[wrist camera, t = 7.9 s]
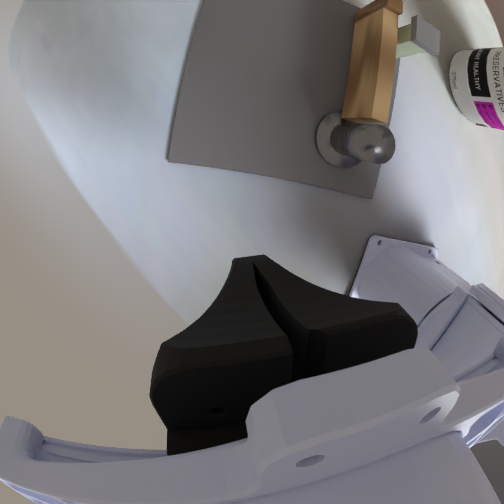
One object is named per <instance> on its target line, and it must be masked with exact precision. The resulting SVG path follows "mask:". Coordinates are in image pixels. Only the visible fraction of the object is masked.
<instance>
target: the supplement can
mask: <svg viewBox="0 0 504 504" xmlns="http://www.w3.org/2000/svg"><path fill="white" fill-rule="evenodd" d="M449 81H450V87H451V91H452V95H453V97H454V99H455V102H456V104H457V106H458V107H459V109H460V110H461V112H462V113H463V114H464V116H465V117H466V118H467V120H469V121H470V122H472V123H473V124H474V125H479V126H485V127H491V128H496V129H501V130H504V47H499V48H482V49H470V50H462V51H459V52H456V54H455V55H454V57H453V58H452V61H451V64H450V70H449Z"/></svg>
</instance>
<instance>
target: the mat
mask: <svg viewBox="0 0 504 504" xmlns="http://www.w3.org/2000/svg"><path fill="white" fill-rule="evenodd" d="M358 10H360V8H357V7H355V6H353V5H350V4H348V3H346V2H343V1H341V0H204V1H203V5H202V8H201V11H200V14H199V18H198V21H197V24H196V28H195V32H194V35H193V39H192V43H191V46H190V50H189V54H188V58H187V63H186V67H185V71H184V76H183V80H182V85H181V89H180V94H179V99H178V104H177V110H176V115H175V120H174V126H173V132H172V138H171V145H170V151H169V158H168V162H172V163H181V164H189V165H197V166H205V167H212V168H220V169H226V170H233V171H239V172H245V173H252V174H257V175H263V176H269V177H274V178H280V179H285V180H290V181H295V182H300V183H305V184H310V185H314V186H319V187H323V188H328V189H332V190H337V191H341V192H345V193H349V194H353V195H357V196H361V197H365V198H369V199H372V197H373V193H374V189H375V186H376V182H377V178H378V174H379V170H380V166H381V164H376V163H372V162H368V161H365V160H362V161H361V162H360V163H359V164H357V165H356V166H353V167H350V168H339V167H336V166H333V165H331V164H329V163H327V162H326V161H325V160H324V159H323V158H322V157H321V156H320V154H319V152H318V150H317V148H316V144H315V131H316V127H317V125H318V123H319V121H320V120H321V119H322V118H323V117H324V116H325V115H326V114H328V113H330V112H333V111H339V110H343V105H344V98H345V92H346V86H347V79H348V72H349V65H350V58H351V50H352V42H353V34H354V24H353V23H354V13H355V12H357V11H358ZM399 63H400V58H396V60H395V70H394V79H393V87H392V95H391V102H390V108H389V115H388V121H387V124H386V123H365V124H378V125H383V126H385V127H387V128H388V129H389V125H390V120H391V115H392V109H393V104H394V98H395V92H396V85H397V78H398V71H399Z"/></svg>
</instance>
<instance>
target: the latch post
mask: <svg viewBox="0 0 504 504" xmlns="http://www.w3.org/2000/svg"><path fill="white" fill-rule="evenodd" d="M423 52H428V53H430V54H431V55H433V56H439V55H440V31H439V30H438V29H437V28H435V27H434V26H432V25H431V24H430V23H428V22H427V21H425V20H424V19H422V18H421V17H419V16H418V15H416V16H414V17H412V24H409V25H406V26H403V27H400V28H398V33H397V48H396V58H400V57H405V56H409V55H413V54H418V53H423Z"/></svg>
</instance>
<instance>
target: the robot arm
mask: <svg viewBox="0 0 504 504" xmlns="http://www.w3.org/2000/svg"><path fill="white" fill-rule="evenodd" d="M379 240H380V242H379V243H378V244H377V242H378V241H379ZM437 255H438V249H437V248H435V247H431V246H427V245H422V244H417V243H412V242H407V241H402V240H397V239H392V238H387V237H382V236H377V235H373V236H371V237H370V239H369V241H368V244H367V247H366V250H365V253H364V256H363V259H362V262H361V265H360V267H359V270H358V273H357V276H356V278H355V281H354V284H353V286H352V289H351V292H350V294H349V296H346V295H342V294H339V293H336V292H332V291H329V290H326V289H324V288H321V287H319V286H316V285H314V284H312V283H309V282H307V281H305V280H303V279H302V278H300V277H298V276H296V275H294V274H293V273H291V272H289V271H288V270H286V269H285V268H283V267H282V266H280V265H279V264H277V263H276V262H274V261H273V260H271V259H270V258H269V257H267V256H266V255H257V256H249V257H241V258H234V259H233V261H232V266H231V270H230V273H229V275H228V278H227V280H226V282H225V284H224V286H223V288H222V290H221V291H220V293H219V295H218V296H217V298H216V299H215V301H214V302H213V303H212V305H211V306H210V307H209V308H208V309H207V310H206V312H205V313H204V314H203V315H202V316H201V317H200V318H199V319H197V320H196V321H195V322H194V323H193V324H191V325H190V326H189V327H187V328H186V329H185V330H183V331H182V332H180V333H179V334H177V335H175V336H174V337H172V338H170V339H169V340H167V341H165V342H163V343H162V344H161V346H160V349H159V351H158V354H157V357H156V360H155V364H154V367H153V371H152V378H151V387H150V399H151V402H152V404H153V406H154V408H155V410H156V411H157V413H158V415H159V416H160V418H161V420H162V421H163V423H164V425H165V426H166V428H167V450H146V449H126V448H114V447H104V446H96V445H88V444H82V443H76V442H70V441H64V440H60V439H55V438H50V437H46V436H43V434H42V433H41V432H40V431H39V430H38V429H37V428H36V427H35V426H34V425H33V424H31V423H30V422H28V421H25V420H21V419H18V418H14V417H11V416H5V418H4V421H3V423H2V426H1V429H0V481H2V482H3V483H4V484H6V485H7V486H9V487H10V488H12V489H13V490H15V491H17V492H18V493H20V494H21V495H23V496H25V497H26V498H28V499H29V500H31V501H33V502H35V503H37V504H501V503H500V501H499V499H498V497H497V495H496V493H495V492H494V490H493V488H492V486H491V484H490V482H489V481H488V479H487V477H486V476H485V474H484V472H483V470H482V468H481V467H480V465H479V464H478V462H477V460H476V458H475V457H474V455H473V454H472V452H471V450H470V449H469V448H470V447H472V446H473V445H474V444H475V443H480V442H484V441H488V440H493V439H496V440H498V441H499V442H500V443H501V444H502V445H503V446H504V300H503V299H502V298H500V297H499V296H498V295H497V294H495V293H494V292H493V291H492V290H490V289H489V288H488V287H486V286H485V285H484V284H482V283H481V284H477V285H472V286H471V285H470V284H469V283H468V282H467V281H465V280H464V279H463V278H461V277H460V276H459V275H458V274H456V273H455V272H454V271H452V270H451V269H450V268H448V267H447V266H446V265H444V264H443V263H441V262H440V261H439V260H437V259H436V257H437Z"/></svg>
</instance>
